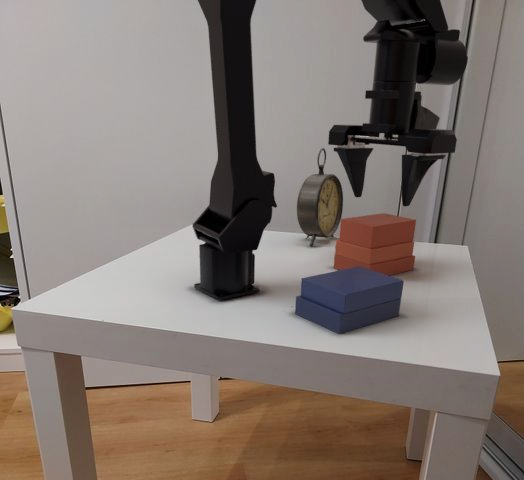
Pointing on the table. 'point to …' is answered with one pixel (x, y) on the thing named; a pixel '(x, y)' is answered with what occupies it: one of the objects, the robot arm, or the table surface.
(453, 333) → the table surface
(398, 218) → the rust book
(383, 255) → the rust stack
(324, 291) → the navy stack
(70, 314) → the table surface
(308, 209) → the alarm clock
